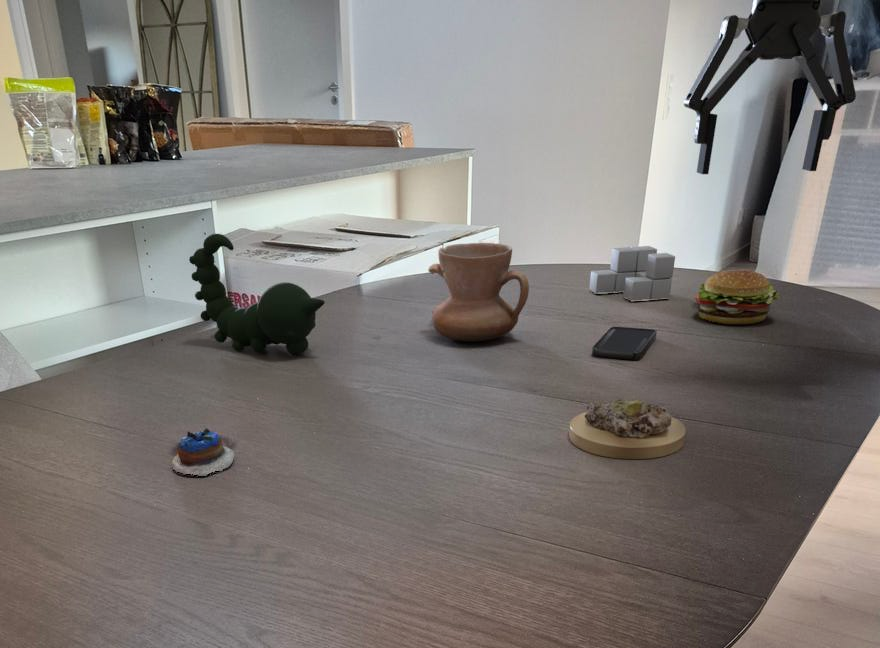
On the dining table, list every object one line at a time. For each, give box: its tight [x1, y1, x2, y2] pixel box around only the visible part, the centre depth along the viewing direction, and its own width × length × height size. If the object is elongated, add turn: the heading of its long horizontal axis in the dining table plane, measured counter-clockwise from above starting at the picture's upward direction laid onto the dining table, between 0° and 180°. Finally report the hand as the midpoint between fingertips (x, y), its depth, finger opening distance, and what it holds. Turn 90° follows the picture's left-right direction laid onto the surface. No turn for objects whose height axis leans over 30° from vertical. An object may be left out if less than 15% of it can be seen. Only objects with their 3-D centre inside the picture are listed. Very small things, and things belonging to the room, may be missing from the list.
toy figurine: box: [188, 233, 326, 356], centre depth 139 cm, size 9×19×25 cm
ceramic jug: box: [427, 242, 530, 343], centre depth 143 cm, size 18×14×14 cm
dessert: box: [171, 427, 235, 476], centre depth 102 cm, size 8×7×6 cm
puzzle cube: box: [589, 245, 676, 300], centre depth 167 cm, size 12×12×8 cm
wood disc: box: [568, 411, 687, 460], centre depth 105 cm, size 14×14×2 cm
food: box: [695, 269, 780, 326], centre depth 150 cm, size 14×14×8 cm
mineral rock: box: [585, 398, 672, 438], centre depth 104 cm, size 11×4×8 cm
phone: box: [591, 326, 658, 361], centre depth 139 cm, size 8×1×15 cm
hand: (755, 172), depth 109 cm, fingers open, 13 cm apart
